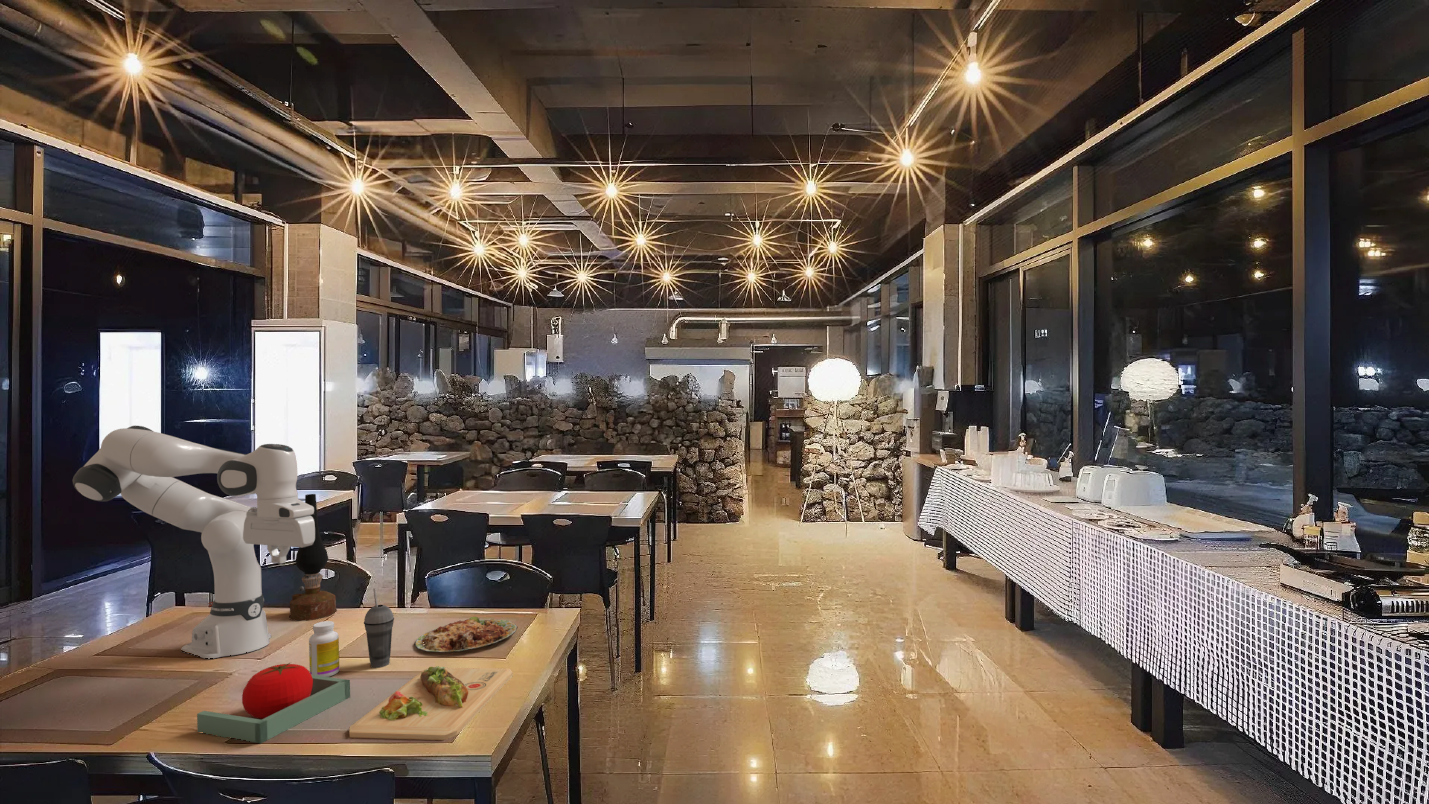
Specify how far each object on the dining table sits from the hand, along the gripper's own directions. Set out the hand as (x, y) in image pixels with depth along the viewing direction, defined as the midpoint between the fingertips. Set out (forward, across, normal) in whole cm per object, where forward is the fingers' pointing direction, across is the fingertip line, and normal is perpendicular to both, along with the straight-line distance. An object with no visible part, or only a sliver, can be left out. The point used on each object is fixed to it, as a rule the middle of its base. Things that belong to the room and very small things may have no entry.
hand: (278, 562), depth 179 cm
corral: (+29, +18, -17) cm, 38 cm away
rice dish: (+29, +29, +36) cm, 54 cm away
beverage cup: (+29, +19, +13) cm, 37 cm away
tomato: (+29, +19, -17) cm, 38 cm away
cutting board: (+29, +50, -2) cm, 58 cm away
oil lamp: (+29, -36, +43) cm, 63 cm away
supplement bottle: (+29, +10, +4) cm, 31 cm away
